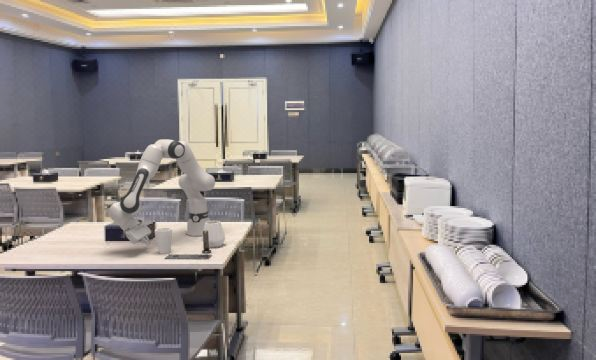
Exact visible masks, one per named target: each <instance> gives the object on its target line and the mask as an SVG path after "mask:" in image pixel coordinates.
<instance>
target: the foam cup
mask: <svg viewBox="0 0 596 360" xmlns="http://www.w3.org/2000/svg"><path fill="white" fill-rule="evenodd" d="M154 235H155V239H156V240H155V241H156V244H157V245H156V246H157V249H158V253H159V255H166V254H169V253H171V252H172V239H173V228H172V227H160V228H156V229H155V230H154Z"/></svg>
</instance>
